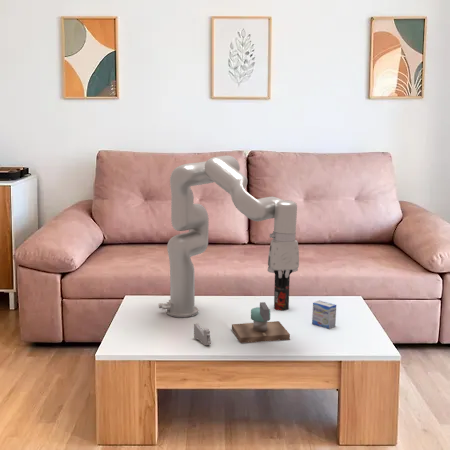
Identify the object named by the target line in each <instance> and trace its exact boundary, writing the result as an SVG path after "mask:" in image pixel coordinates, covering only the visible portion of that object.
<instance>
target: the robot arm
mask: <svg viewBox="0 0 450 450" xmlns="http://www.w3.org/2000/svg"><path fill="white" fill-rule="evenodd" d="M211 183H215V184H216V185H218V187H220V188H221V189H223V190H224V191H225V192H226V193H228V194H229V195H230V197H231V201H232V203H233V205H234V207H235V208H236V209H237V210H238V211H239V212H240V213H241V214H243V216H245V217H246V218H247V219H249V220H250V221H253V222H263V221H266V220H270V219H273V232H272V233H269V238H271V241H270V245H269V250H268V257H267V266H268V267H267V272H268V273H271V274H274V275H275V274H276V275H277V276H278V278H277V286H278V287H279V288H280V289H285V287H286V286H287V278H288V277H289V275H290V276H291V274H292V273H295V272H298V271H299V267H300V248H299V243H298V241H299V240H297V239H296V232H297V231H296V230H297V216H298V215H297V214H298V204H297V203H296V201H293V200H284V199H282V198H279V197H277V196H276V197H275V196H267V197H261V198H255V196H252V195H251V194H250V193H249V192H248V191H247V190H246V188H247V185H248V178H247V176H246V175H245V174H243V173H242V172H241V171H240V163H239V161H238V160H237V158H235V157H234V156H232V155H219V156H214V157H211V158H209V159H207V160H206V161H199V162H189V163H184V164H181V165H178V166H176V168H174V169H173V170H172V172H171V174H170V178H169V185H170V193H171V195H170V196H171V201H170V202H171V203H170V212H171V215H170V220H171V221H170V222H171V226H172V228H173V229H174V230H175V231H179V232H182V233H178V234H175V235H174V236H172V237H170V239H169V240H168V242H167V244H166V249H167V254H168V260H169V275H170V276H169V282H170V283H169V284H170V287H169V291H170V294H169V295H170V299H168V302H167V301H166V303H158V309H161V310H165V311H166V314H167V315H168V316H170V317H172V318H173V317H175V318H189V317H194V316H197V315H198V313H199V308H198V307H196V306H195V281H196V280H195V266H194V264H193V261H192V259H191V258H192V257H195V256H198V255H200V254H201V255H202V253H205V252H206V250H207V248H208V246H209V227H210V226H209V225H210V224H209V223H210V222H209V220H210V219H209V215H208V214H209V213H208V211H207V209H206V207H204V206H203V205H202V204H200V203H194V198H195V197H194V193H193V190H192V188H191V187H195V186H201V185H207V184H211ZM184 231H185V232H184ZM186 231H188V232H186ZM282 270H283V275H282Z"/></svg>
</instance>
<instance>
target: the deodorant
mask: <svg viewBox="0 0 450 450" xmlns="http://www.w3.org/2000/svg"><path fill="white" fill-rule="evenodd" d="M282 275H283V270H282ZM277 278H278V276H277V275H276V274H275V273H274V290H273V291H274V292H273V293H274V296H273V298H274V299H273V310H276V311H283V312H284V311H287V310H290V278H291V274H290V275H289V277H288V278H287V286H286V287H285V289H280V288H279V287H278V286H277Z"/></svg>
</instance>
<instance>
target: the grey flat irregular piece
mask: <svg viewBox="0 0 450 450" xmlns="http://www.w3.org/2000/svg"><path fill="white" fill-rule="evenodd" d="M193 339H194V340H199V342H200V343H201V344H202V345H204V346H211V345H212V340H211V330H210V329H209V328H202V327H201V325H200V324H199V323H198V322H197V323H193Z"/></svg>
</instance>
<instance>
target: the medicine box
mask: <svg viewBox="0 0 450 450" xmlns="http://www.w3.org/2000/svg"><path fill="white" fill-rule="evenodd" d="M311 316H312V317H311V323H312V325H314V326H317V327H321V328H324V329H328V330H330V329H333V328H335V327H336V318H337V304H335V303H331V302H327V301H323V300H315V301H313V302H312V315H311Z"/></svg>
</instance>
